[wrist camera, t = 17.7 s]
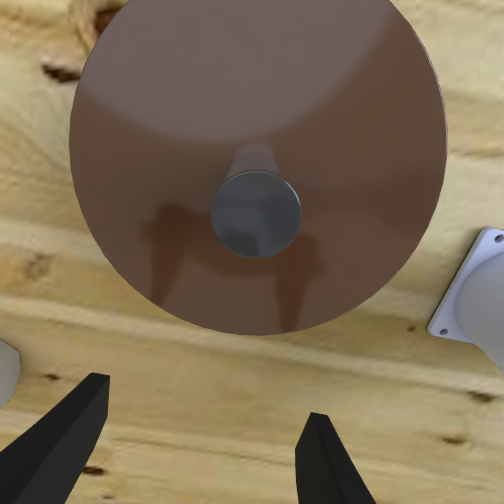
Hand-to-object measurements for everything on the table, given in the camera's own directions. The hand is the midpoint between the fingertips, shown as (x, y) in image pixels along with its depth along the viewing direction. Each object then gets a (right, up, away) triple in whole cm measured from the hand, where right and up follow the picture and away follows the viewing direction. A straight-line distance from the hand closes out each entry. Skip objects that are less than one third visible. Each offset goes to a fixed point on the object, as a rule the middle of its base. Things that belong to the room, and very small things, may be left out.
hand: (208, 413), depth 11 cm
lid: (+2, +8, +1) cm, 8 cm away
